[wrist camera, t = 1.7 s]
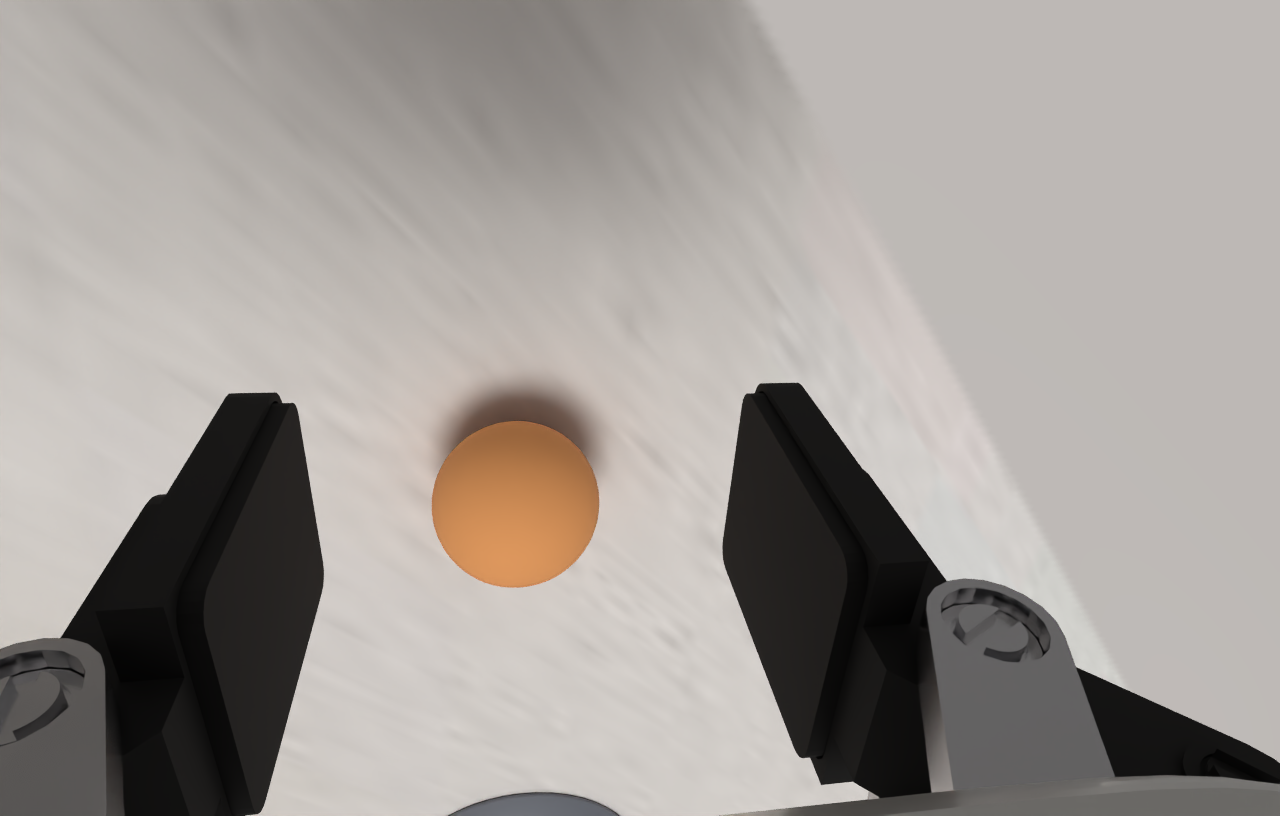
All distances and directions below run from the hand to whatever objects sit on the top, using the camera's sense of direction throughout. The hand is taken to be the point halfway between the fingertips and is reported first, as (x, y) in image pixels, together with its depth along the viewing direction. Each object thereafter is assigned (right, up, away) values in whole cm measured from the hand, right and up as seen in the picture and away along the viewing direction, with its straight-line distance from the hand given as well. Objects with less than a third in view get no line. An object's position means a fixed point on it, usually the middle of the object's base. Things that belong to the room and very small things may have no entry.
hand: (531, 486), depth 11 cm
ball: (-3, -2, +16) cm, 16 cm away
